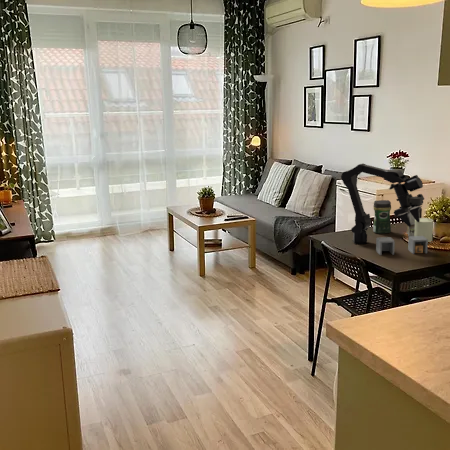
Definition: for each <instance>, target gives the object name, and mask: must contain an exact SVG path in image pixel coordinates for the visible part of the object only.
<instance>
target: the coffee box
mask: <svg viewBox="0 0 450 450" xmlns="http://www.w3.org/2000/svg"><path fill="white" fill-rule="evenodd" d="M419 207H420V206H419ZM409 210H411V209H409ZM408 212H410V211H408ZM422 215H423V209H422V207H421V208H420V210H419V217H420V218H423V216H422ZM409 219H410V223H411V226H410V227H409V226H408V225H407V224H406V235H407V234H408V235H407V236H408V237H409V236H414V233H415V218H414V217H413V216H412V214H411V213H409Z"/></svg>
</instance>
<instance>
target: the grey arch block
mask: <svg viewBox="0 0 450 450" xmlns="http://www.w3.org/2000/svg"><path fill="white" fill-rule="evenodd" d="M415 244H421V245H423V253H424V254H428V246H429V245H428V244H429V243H428V239H426V238H425V237H424V236H408V244H407V245H408V247H407V250H408V251H409V252H410V253H411V254H413V255H414V254H415Z"/></svg>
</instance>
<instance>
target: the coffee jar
mask: <svg viewBox="0 0 450 450" xmlns="http://www.w3.org/2000/svg"><path fill="white" fill-rule="evenodd" d="M372 209H373V211H374V215H373V217H374V218H373V226H372V231H373V233H375V234H390V233H391V231H392V225H391V215H390V214H391V210H392V202H391V201H390V200H388V199H385V200H374V202H373V208H372Z"/></svg>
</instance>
